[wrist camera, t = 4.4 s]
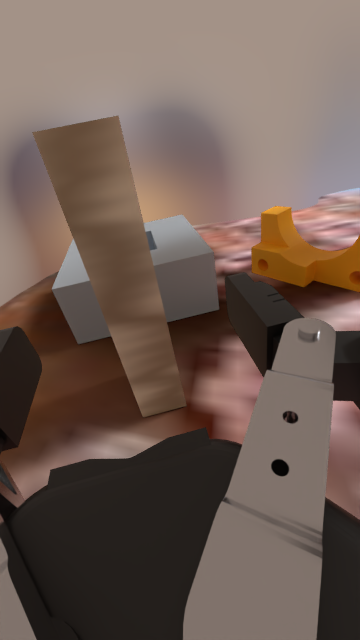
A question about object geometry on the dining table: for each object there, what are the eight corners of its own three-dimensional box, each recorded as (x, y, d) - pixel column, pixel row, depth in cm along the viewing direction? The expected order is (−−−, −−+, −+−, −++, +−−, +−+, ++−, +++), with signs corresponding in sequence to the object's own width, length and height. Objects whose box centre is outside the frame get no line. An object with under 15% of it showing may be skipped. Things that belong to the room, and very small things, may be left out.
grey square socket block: (189, 258, 39) (182, 214, 36) (219, 309, 28) (213, 251, 24) (89, 281, 38) (73, 238, 35) (78, 344, 27) (51, 289, 23)
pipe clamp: (251, 273, 33) (251, 218, 29) (273, 259, 35) (275, 206, 31) (363, 305, 25) (381, 233, 21) (383, 285, 27) (403, 216, 23)
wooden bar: (175, 362, 22) (117, 121, 13) (186, 405, 19) (118, 115, 10) (138, 371, 22) (55, 133, 13) (143, 417, 19) (32, 132, 10)
